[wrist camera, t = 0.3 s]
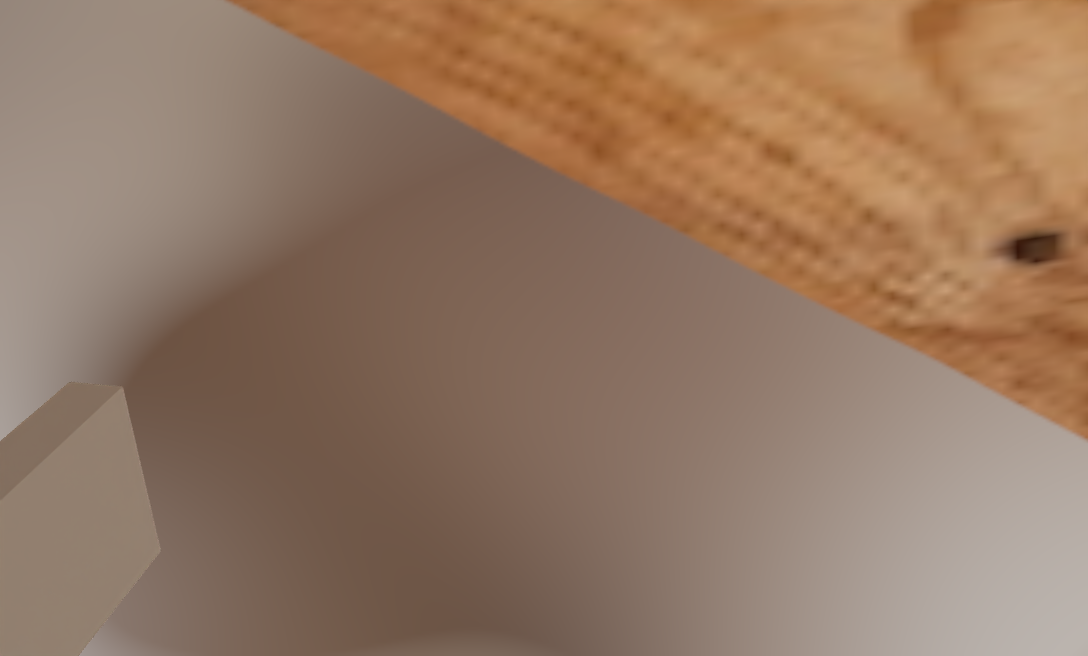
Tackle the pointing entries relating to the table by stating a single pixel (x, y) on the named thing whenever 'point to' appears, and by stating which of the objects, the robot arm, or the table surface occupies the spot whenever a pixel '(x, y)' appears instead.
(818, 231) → the table surface
